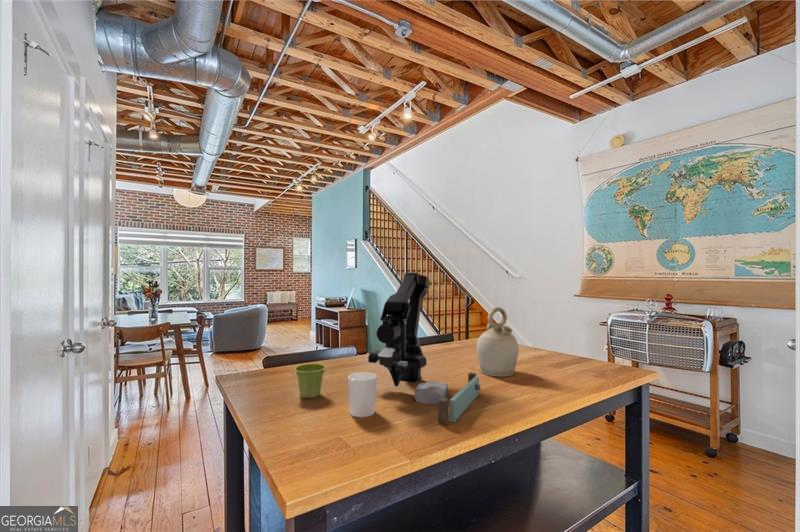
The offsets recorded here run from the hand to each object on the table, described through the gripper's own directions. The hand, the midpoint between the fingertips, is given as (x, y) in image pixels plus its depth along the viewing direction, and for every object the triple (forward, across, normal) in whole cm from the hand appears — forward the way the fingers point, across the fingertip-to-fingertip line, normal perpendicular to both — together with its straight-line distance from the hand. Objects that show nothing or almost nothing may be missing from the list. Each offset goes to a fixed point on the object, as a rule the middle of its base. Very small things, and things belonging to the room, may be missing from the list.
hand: (396, 386), depth 117 cm
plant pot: (+2, -22, -16) cm, 27 cm away
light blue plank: (+2, +22, -3) cm, 22 cm away
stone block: (+2, +12, 0) cm, 12 cm away
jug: (+2, +24, +37) cm, 44 cm away
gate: (+1, +24, -3) cm, 25 cm away
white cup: (+2, 0, -20) cm, 20 cm away
